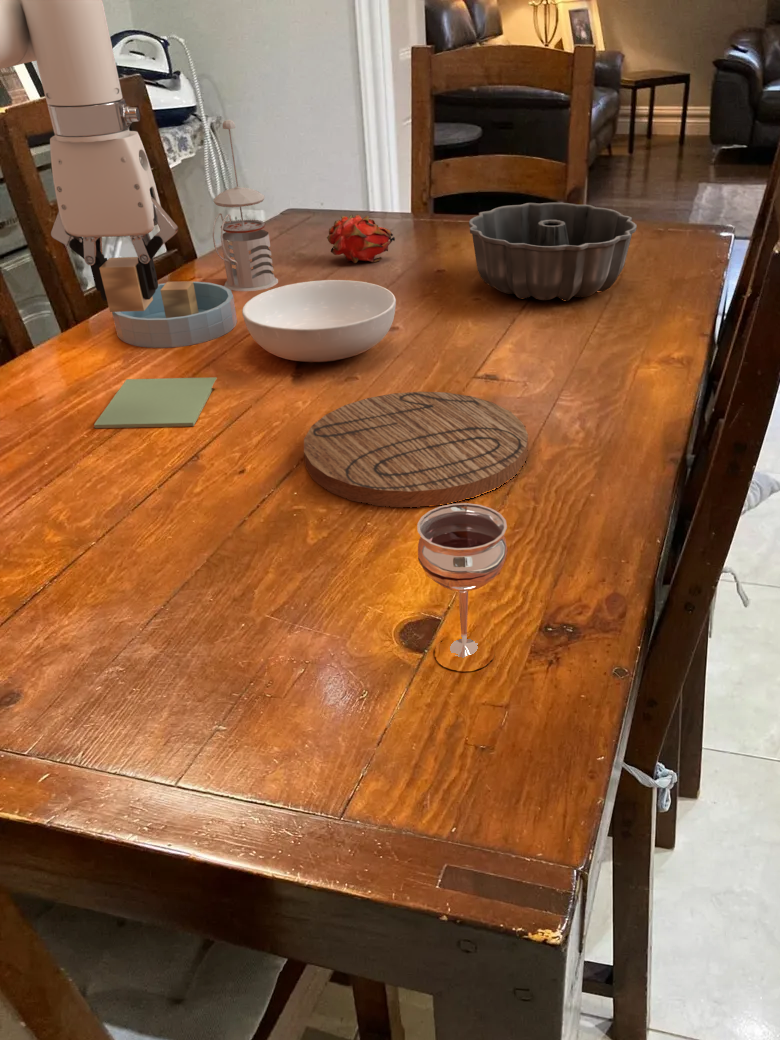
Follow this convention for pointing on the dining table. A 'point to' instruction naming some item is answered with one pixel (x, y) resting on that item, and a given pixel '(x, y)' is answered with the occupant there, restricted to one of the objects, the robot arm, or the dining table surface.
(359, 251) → the dragon fruit
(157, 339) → the pan
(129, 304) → the block front
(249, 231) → the french press
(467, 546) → the wineglass
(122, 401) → the mat
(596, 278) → the bundt pan
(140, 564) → the dining table surface
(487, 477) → the trivet
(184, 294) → the block back
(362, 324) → the serving bowl
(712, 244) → the dining table surface
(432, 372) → the dining table surface
